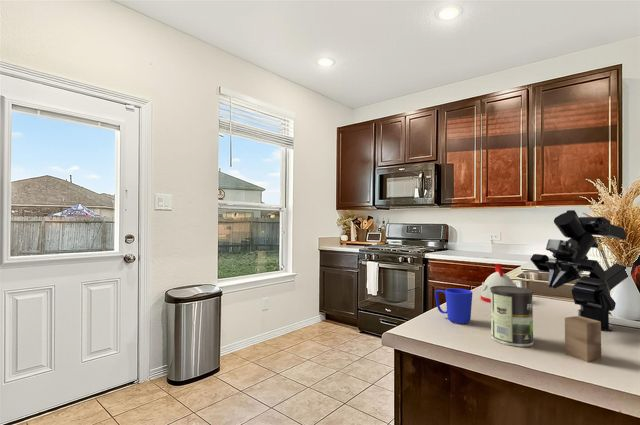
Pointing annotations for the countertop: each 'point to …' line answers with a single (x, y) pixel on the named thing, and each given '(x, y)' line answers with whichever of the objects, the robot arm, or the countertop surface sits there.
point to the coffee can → (512, 315)
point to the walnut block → (583, 338)
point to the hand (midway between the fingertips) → (551, 287)
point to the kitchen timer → (494, 283)
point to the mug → (457, 304)
